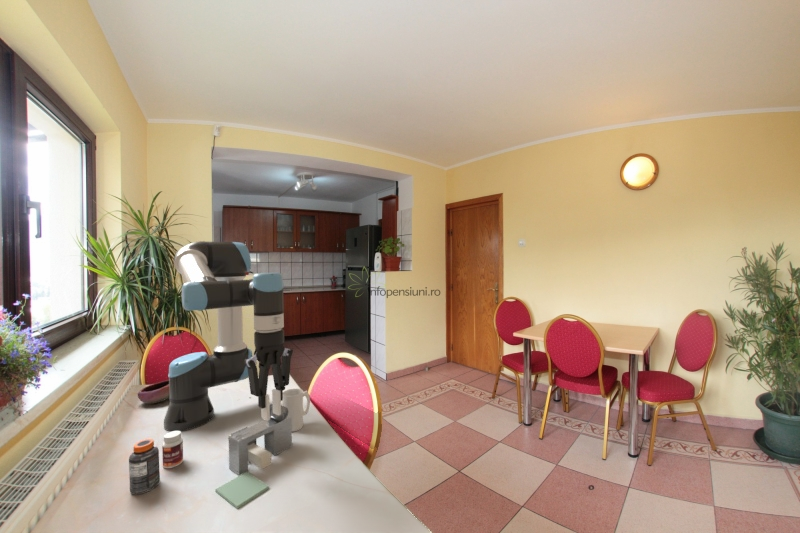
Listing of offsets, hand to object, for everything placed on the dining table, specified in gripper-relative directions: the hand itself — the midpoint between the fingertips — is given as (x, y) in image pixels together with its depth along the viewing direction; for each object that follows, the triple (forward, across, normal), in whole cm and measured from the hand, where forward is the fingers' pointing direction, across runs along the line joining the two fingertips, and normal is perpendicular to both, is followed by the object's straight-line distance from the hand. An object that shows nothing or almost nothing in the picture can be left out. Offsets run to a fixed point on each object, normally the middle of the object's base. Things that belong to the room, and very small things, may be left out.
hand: (271, 416), depth 87 cm
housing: (+15, +2, +7) cm, 16 cm away
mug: (+15, +19, +14) cm, 28 cm away
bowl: (+15, +2, +80) cm, 81 cm away
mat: (+15, -9, -1) cm, 17 cm away
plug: (+15, 0, +10) cm, 18 cm away
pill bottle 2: (+15, -14, +26) cm, 33 cm away
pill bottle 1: (+15, -22, +21) cm, 34 cm away
